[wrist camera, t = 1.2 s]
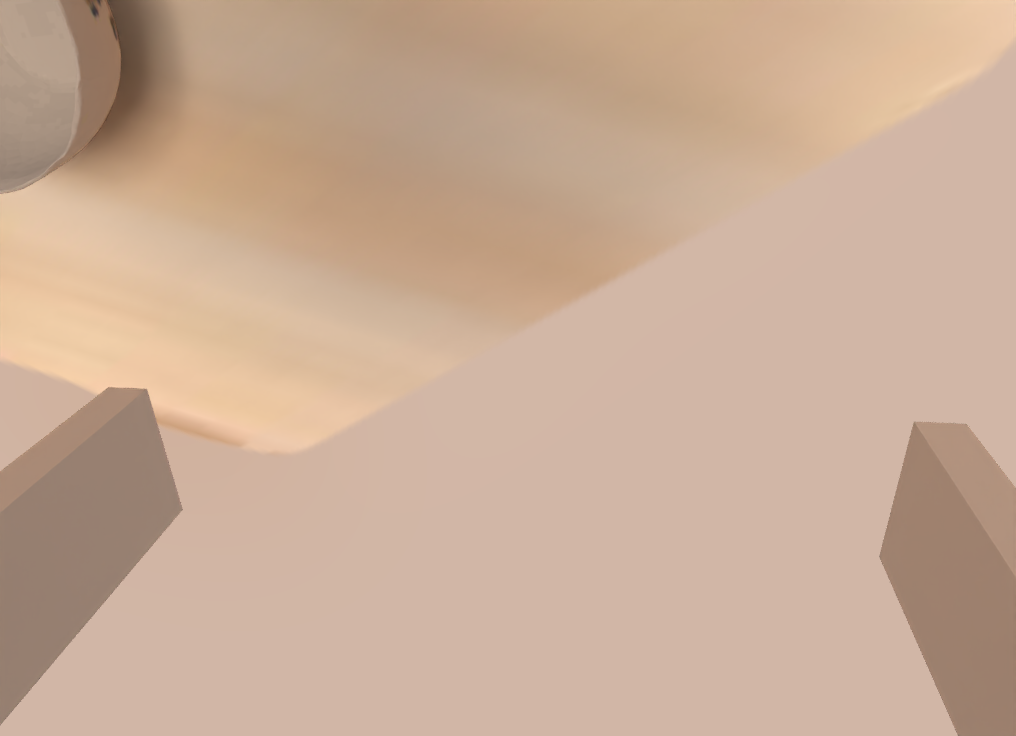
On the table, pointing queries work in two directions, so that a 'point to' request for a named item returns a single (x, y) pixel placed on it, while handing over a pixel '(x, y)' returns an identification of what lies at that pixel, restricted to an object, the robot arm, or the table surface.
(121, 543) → the robot arm
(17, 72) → the teacup
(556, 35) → the table surface
